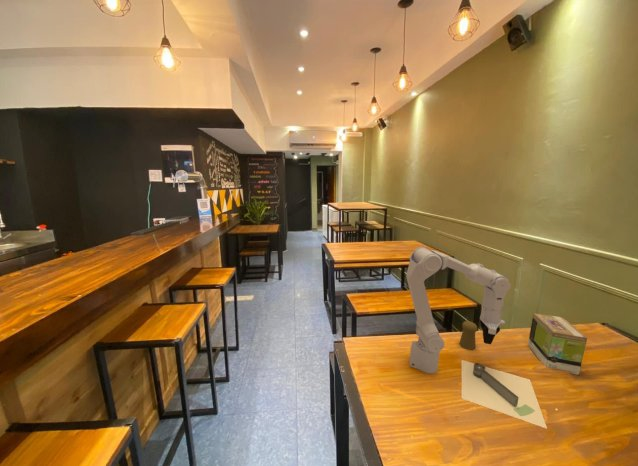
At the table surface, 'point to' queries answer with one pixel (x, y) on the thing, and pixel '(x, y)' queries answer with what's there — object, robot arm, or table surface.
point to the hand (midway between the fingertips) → (487, 342)
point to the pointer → (495, 384)
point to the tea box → (557, 343)
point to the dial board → (488, 397)
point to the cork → (468, 335)
